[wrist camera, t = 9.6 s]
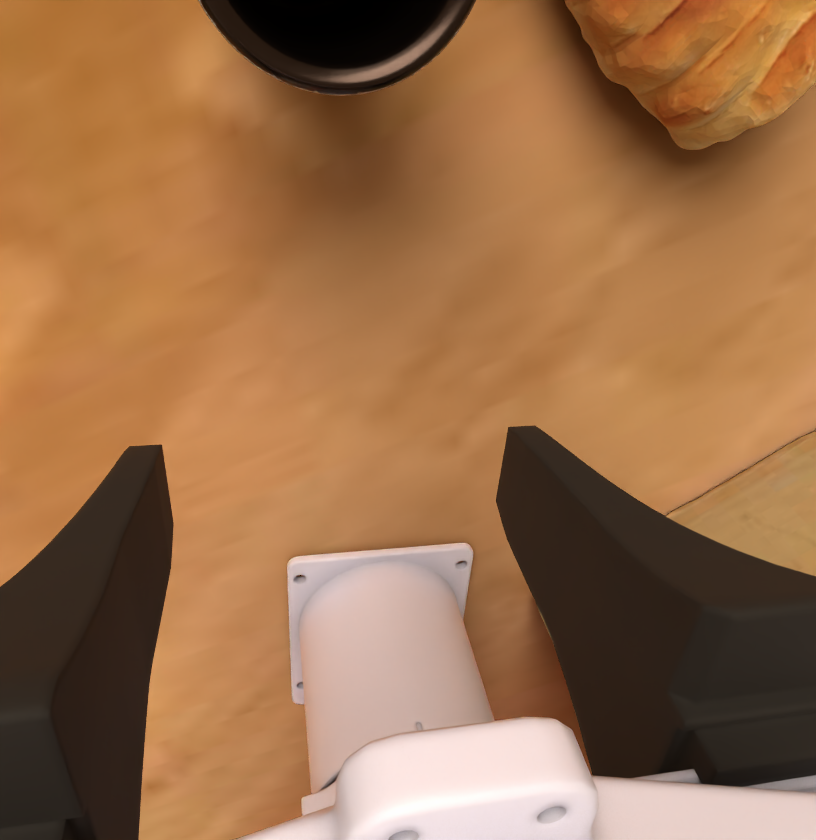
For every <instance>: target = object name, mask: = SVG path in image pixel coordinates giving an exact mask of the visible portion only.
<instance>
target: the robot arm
mask: <svg viewBox="0 0 816 840" xmlns="http://www.w3.org/2000/svg"><path fill="white" fill-rule="evenodd" d="M496 503H497V506H498V510H499V513H500V517H501V521H502V524H503V527H504V530H505V534H506V537H507V540H508V542H509V544H510V547H511V549H512V551H513V554H514V556H515V558H516V560H517V562H518V565H519V567H520V569H521V571H522V573H523V576H524V578H525V580H526V582H527V584H528V586H529V589H530V591H531V593H532V595H533V597H534V599H535V601H536V604H537V606H538V608H539V610H540V612H541V614H542V617H543V619H544V621H545V623H546V626H547V628H548V631H549V633H550V636H551V638H552V641H553V644H554V647H555V650H556V653H557V656H558V659H559V662H560V665H561V668H562V671H563V674H564V677H565V680H566V684H567V687H568V690H569V693H570V697H571V700H572V703H573V707H574V710H575V713H576V716H577V720H578V723H579V727H580V731H581V734H582V738H583V742H584V745H585V749H586V753H587V756H588V760H589V763H590V767H591V771H592V775H593V776H592V775H591V774H590V772H589V769H588V767H587V764H586V762H585V759H584V757H583V755H582V752H581V750H580V747H579V745H578V742H577V740H576V738H575V735H574V733H573V730H572V729H570V728H569V727H567V726H566V725H564V724H563V723H561V722H559V721H558V720H556V719H553V718H549V717H519V718H511V719H504V720H496V721H495V720H494V717H493V714H492V711H491V707H490V704H489V701H488V698H487V695H486V692H485V689H484V685H483V682H482V679H481V676H480V673H479V670H478V667H477V663H476V660H475V657H474V654H473V651H472V648H471V645H470V641H469V638H468V635H467V632H466V629H465V626H464V623H463V618H464V612H465V605H466V599H467V593H468V586H469V580H470V574H471V567H472V561H473V550H472V548H471V546H470V545H469V544H467V543H452V544H440V545H428V546H416V547H403V548H391V549H379V550H367V551H355V552H342V553H330V554H318V555H306V556H297V557H294V558H292V559H290V560H289V562H288V564H287V579H288V606H289V634H290V661H291V689H292V700H293V702H294V703H296V704H305V717H306V730H307V743H308V756H309V769H310V782H311V794H310V795H307V796H304V797H303V798H302V799H301V806H302V816H300V817H297V818H294V819H292V820H289V821H286V822H283V823H280V824H277V825H274V826H271V827H268V828H266V829H263V830H260V831H257V832H254V833H251V834H248V835H245V836H242V837H240V838H237V839H233V840H816V576H813V575H810V574H806V573H803V572H800V571H796V570H793V569H790V568H786V567H783V566H780V565H776V564H773V563H770V562H768V561H765V560H762V559H759V558H757V557H754V556H751V555H749V554H746V553H743V552H741V551H738V550H736V549H733V548H731V547H728V546H726V545H723V544H721V543H719V542H717V541H714V540H712V539H710V538H708V537H706V536H703V535H701V534H699V533H697V532H695V531H693V530H691V529H689V528H687V527H685V526H683V525H681V524H679V523H677V522H675V521H673V520H671V519H670V518H668V517H666V516H664V515H662V514H661V513H659V512H657V511H655V510H653V509H652V508H650V507H648V506H647V505H645V504H643V503H642V502H640V501H638V500H637V499H635V498H634V497H632V496H631V495H629V494H628V493H626V492H625V491H623V490H622V489H620V488H619V487H617V486H616V485H614V484H613V483H611V482H610V481H609V480H607V479H606V478H604V477H603V476H602V475H600V474H599V473H597V472H596V471H595V470H593V469H592V468H591V467H589V466H588V465H587V464H585V463H584V462H583V461H581V460H580V459H579V458H577V457H576V456H575V455H574V454H572V453H571V452H570V451H568V450H567V449H566V448H564V447H563V446H562V445H561V444H559V443H558V442H557V441H555V440H554V439H553V438H552V437H550V436H549V435H548V434H546V433H545V432H543V431H542V430H541V429H539V428H538V427H536V426H520V427H508V433H507V439H506V444H505V450H504V456H503V462H502V468H501V474H500V479H499V485H498V491H497V497H496ZM172 541H173V517H172V510H171V503H170V497H169V490H168V483H167V476H166V470H165V463H164V456H163V450H162V445H147V446H129V447H128V448H127V449H126V450H125V451H124V453H123V454H122V455H121V457H120V458H119V460H118V461H117V462H116V464H115V465H114V467H113V468H112V469H111V471H110V472H109V474H108V475H107V476H106V478H105V479H104V480H103V481H102V483H101V484H100V485H99V487H98V488H97V489H96V491H95V492H94V493H93V494H92V495H91V497H90V498H89V499H88V500H87V502H86V503H85V504H84V505H83V506H82V508H81V509H80V510H79V511H78V512H77V514H76V515H75V516H74V517H73V518H72V519H71V520H70V521H69V523H68V524H67V525H66V526H65V527H64V528H63V529H62V530H61V531H60V532H59V533H58V534H57V535H56V537H55V538H54V539H53V540H52V541H51V542H50V543H49V544H48V545H47V546H46V547H45V548H44V549H43V550H42V551H41V552H40V553H39V554H38V555H37V556H36V557H35V558H34V559H33V560H32V561H30V562H29V563H28V564H27V565H26V566H25V567H24V568H23V569H22V570H20V571H19V572H18V573H17V574H16V575H15V576H14V577H12V578H11V579H10V580H9V581H7V582H6V583H5V584H3V585H2V586H1V587H0V840H138V836H139V819H140V802H141V785H142V770H143V756H144V742H145V728H146V716H147V705H148V693H149V682H150V675H151V669H152V662H153V657H154V652H155V647H156V642H157V637H158V631H159V626H160V621H161V616H162V611H163V606H164V601H165V596H166V590H167V585H168V580H169V575H170V569H171V557H172ZM459 561H463V562H461V563H458V562H459ZM297 575H303V576H302V577H296V576H297Z"/></svg>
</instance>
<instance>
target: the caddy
mask: <svg viewBox="0 0 816 840" xmlns="http://www.w3.org/2000/svg"><path fill="white" fill-rule="evenodd" d="M666 517H668V518H670V519H671V520H673V521H675V522H677V523H679V524H681V525H683V526H685V527H687V528H689V529H691V530H693V531H695V532H697V533H699V534H701V535H703V536H706V537H708V538H710V539H712V540H714V541H717V542H719V543H721V544H723V545H726V546H728V547H731V548H733V549H736V550H738V551H741V552H743V553H746V554H749V555H751V556H754V557H757V558H759V559H762V560H765V561H768V562H770V563H773V564H776V565H780V566H783V567H786V568H790V569H793V570H796V571H800V572H803V573H806V574H810V575H813V576H816V431H815V432H813V433H810V434H807V435H805V436H803V437H801V438H799V439H797V440H796V441H794V442H792V443H790V444H789V445H787V446H785V447H783V448H782V449H780V450H778V451H777V452H775V453H773V454H772V455H770V456H768V457H767V458H765V459H763V460H762V461H760V462H759V463H757V464H755V465H754V466H752V467H750V468H749V469H747V470H745V471H743V472H742V473H740V474H738V475H737V476H735V477H733V478H731V479H730V480H728V481H726V482H724V483H723V484H721V485H719V486H717V487H716V488H714V489H712V490H710V491H709V492H707V493H706V494H704V495H703V496H701V497H700V498H698V499H696V500H694V501H692V502H690V503H688V504H686V505H683V506H681V507H679V508H677V509H676V510H674V511H672V512H671V513H669V514H668V515H666ZM535 602H536V601H535ZM536 605H537V604H536ZM537 607H538V606H537ZM538 610H539V608H538ZM539 612H540V610H539ZM540 614H541V612H540ZM541 617H542V614H541ZM542 619H543V617H542ZM543 621H544V619H543ZM544 623H545V621H544ZM545 626H546V623H545ZM546 628H547V626H546ZM547 630H548V628H547ZM548 632H549V631H548ZM549 635H550V633H549ZM550 637H551V636H550ZM551 639H552V638H551Z"/></svg>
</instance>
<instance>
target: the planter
mask: <svg viewBox="0 0 816 840" xmlns="http://www.w3.org/2000/svg"><path fill="white" fill-rule="evenodd" d="M198 1H199V3H200V4H201V6H202V8H203V9H204V11H205V13H206V14H207V16H208V17H209V19H210V20H211V22H212V23H213V24H214V26H215V27H216V28H217V30H218V31H219V32H220V33H221V34H222V36H223V37H224V38H225V39H226V40H227V41H228V42H229V43H230V44H231V45H232V46H233V47H234V48H235V49H236V51H237V52H239V53H240V54H241V55H242V56H243V57H244V58H246V59H247V60H248V61H249V62H251V63H252V64H253V65H254V66H256V67H257V68H259V69H260V70H262V71H263V72H265V73H266V74H268V75H270V76H272V77H273V78H275V79H277V80H279V81H281V82H283V83H286V84H288V85H290V86H293V87H296V88H299V89H302V90H305V91H309V92H313V93H319V94H324V95H336V96H348V95H359V94H365V93H370V92H374V91H378V90H382V89H384V88H387V87H390V86H392V85H395V84H397V83H399V82H401V81H403V80H405V79H407V78H409V77H410V76H412V75H414V74H415V73H417V72H418V71H420V70H421V69H422V68H424V67H425V66H426V65H428V64H429V63H430V62H431V61H432V60H433V59H434V58H436V57H437V56H438V55H439V54H440V53H441V52H442V51H443V50H444V49H445V47H446V46H447V45H448V44H449V43H450V42H451V40H452V39H453V38H454V37H455V35H456V34H457V33H458V31H459V30H460V28H461V27H462V25H463V24H464V22H465V20H466V19H467V17H468V15H469V14H470V12H471V10H472V8H473V6H474V4H475V2H476V0H198Z"/></svg>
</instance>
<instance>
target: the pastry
mask: <svg viewBox="0 0 816 840" xmlns="http://www.w3.org/2000/svg"><path fill="white" fill-rule="evenodd" d="M565 4H566V6H567V8H568V9H569V10H570V11H571V12H572V14H573V16H574V18H575V20H576V21H577V23H578V24H579V26H580V27H581V32H582V37H583V39H584V40H585V41H586V42H587V43H588V44H589V45H590V46H591V48H592V51H593V53H594V55H595V57H596V60H597V63H598V66H599V67H600V69H601V70H602V72H603V73H604V75H605V76H606V77H607V78H608V79H609V80H611V81H612V82H615V83H618V84H620V85H623V86H625V87H627V88H628V89H629V90H630V92H631V93H632V94H633V95H634V96H635V98H636V99H637V100H638V101H639V102H640V104H641V105H642V106H643V107H644V108H645V109H646V110H647V111H648V112H649V113H651V114H652V115H653V116H654V117H655V118H657V119H658V120H659V121H660V122H661V123H662V124H663V125H664V126H665V127H666V128H667V130H668V131H669V133H670V135H671V137H672V139H673V140H674V142H675V143H676V144H677V145H678V146H679V147H681V148H684V149H688V150H698V149H703V148H706V147H708V146H710V145H712V144H714V143H716V142H721V141H729V140H731V139H733V138H734V137H736V136H738V135H740V134H741V133H742V132H744V131H745V130H746V129H750V128H755V127H759V126H762V125H764V124H766V123H768V122H770V121H772V120H774V119H775V118H777V117H778V116H780V115H781V114H782V113H783V112H784V111H786V110H787V109H788V108H789V107H790V106H791V105H792V104H793V103H794V102H795V101H797V100H798V99H799V98H800V97H802V96H803V95H804V94H805V93H806V92H807V91H808V90H809V89H810V88H811V87H812V86H813V85H814V84H815V83H816V0H565Z"/></svg>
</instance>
